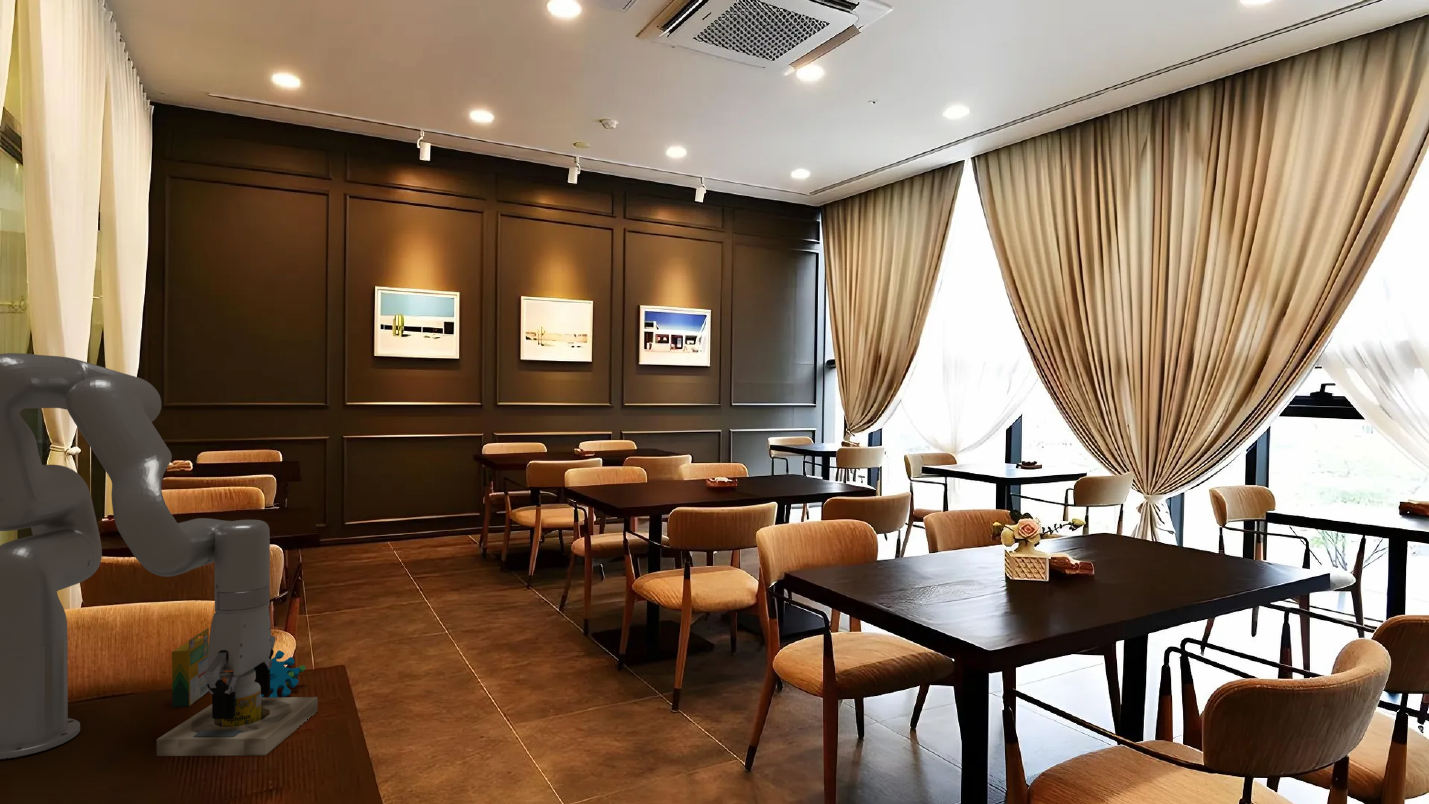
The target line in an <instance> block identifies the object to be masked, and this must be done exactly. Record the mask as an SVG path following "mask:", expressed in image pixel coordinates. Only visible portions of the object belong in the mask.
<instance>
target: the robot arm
mask: <svg viewBox="0 0 1429 804" xmlns="http://www.w3.org/2000/svg"><path fill="white" fill-rule="evenodd" d="M25 409H61V410H67V412H68V414H69V416H70V418H71V420H72V421H73V422H74V424H75V426H76V427H77V428H78V430H79V431H80V433H81V435H82V437H83V438H84V439H85V441H86V442H87V443H86V444H88V446H89V448H90V449H91V450H92V452H93V453H94V455H95V456H96V458H97V459H98V461H99V463H100V465H101V466H102V468H103V469H104V471H105V472H106V474H107V476H108V477H109V479H110V481H111V505H112V514H113V519H114V523H115V526H116V528H117V531H118V533H119V535H120V537H121V538H122V539H123V541H124V543H125V545H126V546H127V548H128V549H129V550H130V552H131V554H132V555H133V556H134V558H135V559H136V561H138V562H139V564H140V566H141V565H142V567H143V568H144V569H145V570H146V571H148V572H149V573H151V574H153V575H157V576H159V577H163V578H164V577H166V578H167V577H168V578H169V577H175V576H178V575H182V574H185V573H187V572H190V571H191V570H194V569H196V568H200V567H203V566H206V565H209V564H212V563H214V612H215V613H213V616H212V619H211V620H212V621H211V625H210V632H209V638H208V644H209V649H208V669H207V670H206V672H205V678H206V681H207V683H208V684H207V687H208V688H209V694H210V695H212V697H211V701H212V703H211V704H212V718H213V719H232V718H234V717H235V692H232V690H233V688H234V685H235V683H236V680H237V677H239V676H241V675H243V674H244V673H246V672H248V671H249V670H251V669H254V670H255V671H256V678H255V681H254V682H257V683H259V685H260V687H261V694H264V695H268V694H271V691H270V668H271V666H272V661H271V659H273V656H274V654H275V652H274V647H275V644H276V639H277V638H276V636H274V635H272V627H271V615H270V608H269V607H270V604H271V603H270V600H271V599H270V594H271V593H270V592H271V591H270V589H271V588H270V587H271V586H270V583H271V582H270V581H271V580H270V578H271V576H270V575H271V572H270V570H271V565H270V564H271V563H270V557H271V556H270V555H271V554H270V553H271V548H270V546H271V544H270V543H271V540H270V539H271V538H270V537H271V535H270V533H271V532H270V531H271V530H270V526H269V524H268V523H267V522H265V520H259V519H239V520H237V519H236V520H222V519H215V518H208V517H206V518H205V517H204V518H203V517H201V518H199V517H198V518H193V519H190V520H186V521H182V522H177V520H176V519H175V517H174V516H173V514H172V513H171V511H170V510H169V508H168V505H167V504H166V501H165V499H164V496H163V491H162V482H163V477H164V474H165V472H166V471H167V469H168V467H169V465H170V464H171V462H172V459H173V457H172V452H171V450H170V449H169V448H168V447H167V444H166V443H165V440H164V439H163V438H162V436H161V435H160V433H159V432H158V430H157V429H156V427H155V425H154V424H153V422H154V421H155V420H156V419H157V417H158V416H159V415H160V413H161V410H162V398H161V396H160V393H159V392H158V390H157V388H155V387H154V386H153V384H151V383H150V382H148V380H145V379H143V378H141V377H138V376H135V375H131V374H127V373H124V372H121V371H117V370H114V369H110V368H107V367H104V366H100V365H97V364H93V363H89V362H87V361H84V360H80V359H77V358H73V357H67V356H58V355H57V356H56V355H44V354H42V355H41V354H35V353H23V352H22V353H19V352H18V353H17V352H7V353H6V352H5V353H0V532H9V531H17V530H18V531H19V530H23V529H28V528H30V529H31V533H32V535H30V536H25V537H21V538H17V539H13V540H10V541H7V542H4V543H3V544H0V760H7V758H8V759H13V758H20V757H23V756H24V757H25V756H29V755H33V754H37V753H40V752H43V751H44V752H45V751H47V750H50V749H53V748H55V747H57V746H60V745H63V744H65V743H67V742H69V741H71V740H72V739H74V738H75V737H77V736H78V734H79V733H80V731H81V723H80V721H78V719H77V720H76V719H74V718H71V717H68V716H69V715H68V713H69V712H68V709H69V707H68V705H69V704H68V703H69V702H68V697H69V696H68V691H69V689H68V685H69V684H68V682H69V681H68V678H69V677H68V676H69V675H68V670H69V669H68V667H69V666H68V665H69V664H68V660H69V659H68V650H69V649H68V647H69V646H68V645H69V644H68V642H69V640H68V639H69V638H68V637H69V636H68V618H67V615H66V614H67V613H66V611H65V608H64V607H63V604H62V602H61V600H60V598H59V595H58V592H59V591H60V590H63V589H66V588H70V587H72V586H75V585H78V584H80V583H82V582H84V581H86V580H88V579H89V578H90V577H92V576H93V575H94V574H95V573H96V572H97V570H98V569H99V567H100V565H101V563H102V558H103V550H102V549H103V547H102V542H101V536H100V531H99V526H98V523H97V517H96V513H95V509H94V503H93V500H92V495H91V492H90V489H89V487H88V485H87V483H86V481H85V480H84V478H83V476H81V474H79V473H78V472H77V471H76V470H74V469H72V468H70V467H68V466H64V465H59V464H42V460H41V456H40V453H39V448H38V442H37V439H36V436H35V435H34V432H33V430H32V429H31V427H30V426H29V425H28V423H27V422H26V421H25V420H24V419H23V417H22V416H21V412H22V410H25ZM226 678H229V680H228V683H226V681H224V680H223V679H226Z"/></svg>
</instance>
